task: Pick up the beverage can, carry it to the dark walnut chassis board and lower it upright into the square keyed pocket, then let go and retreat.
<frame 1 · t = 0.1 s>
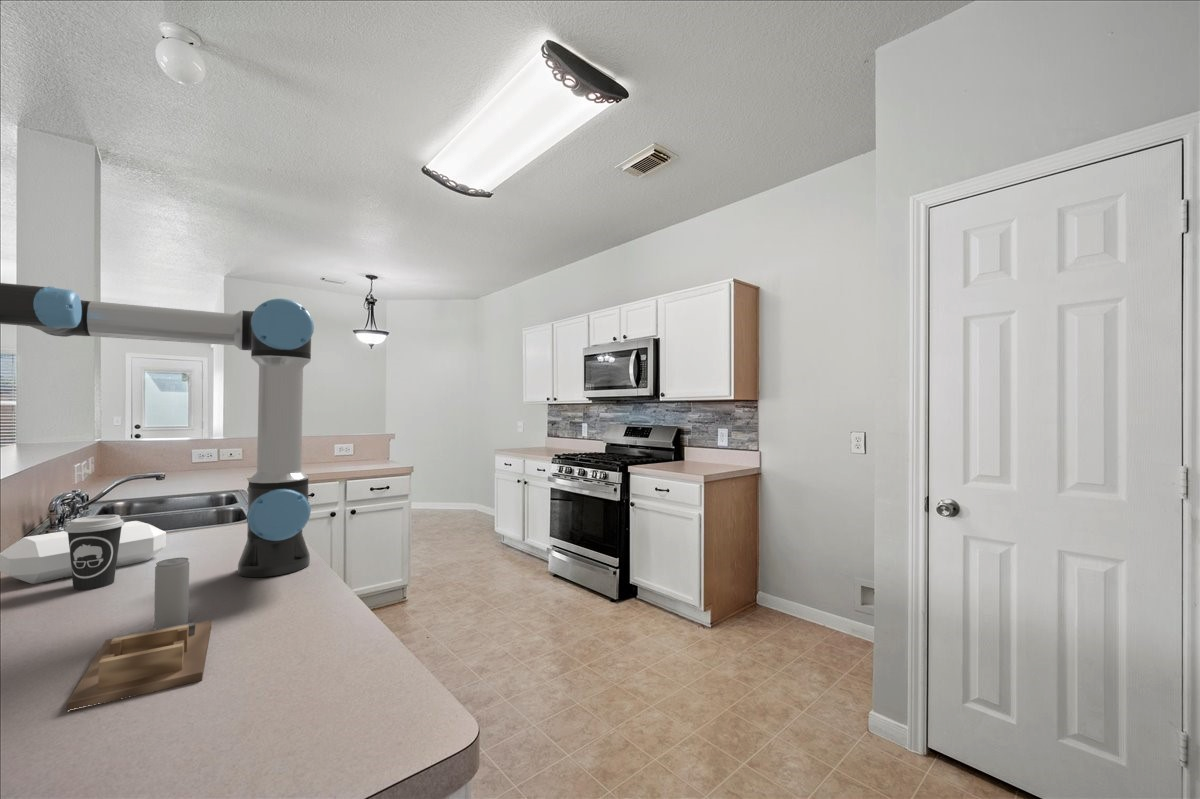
coffee cup: (94, 586, 114), on the worktop
beverage can: (171, 628, 92), on the worktop
crystal: (88, 570, 126), on the worktop
chassis: (150, 662, 80), on the worktop
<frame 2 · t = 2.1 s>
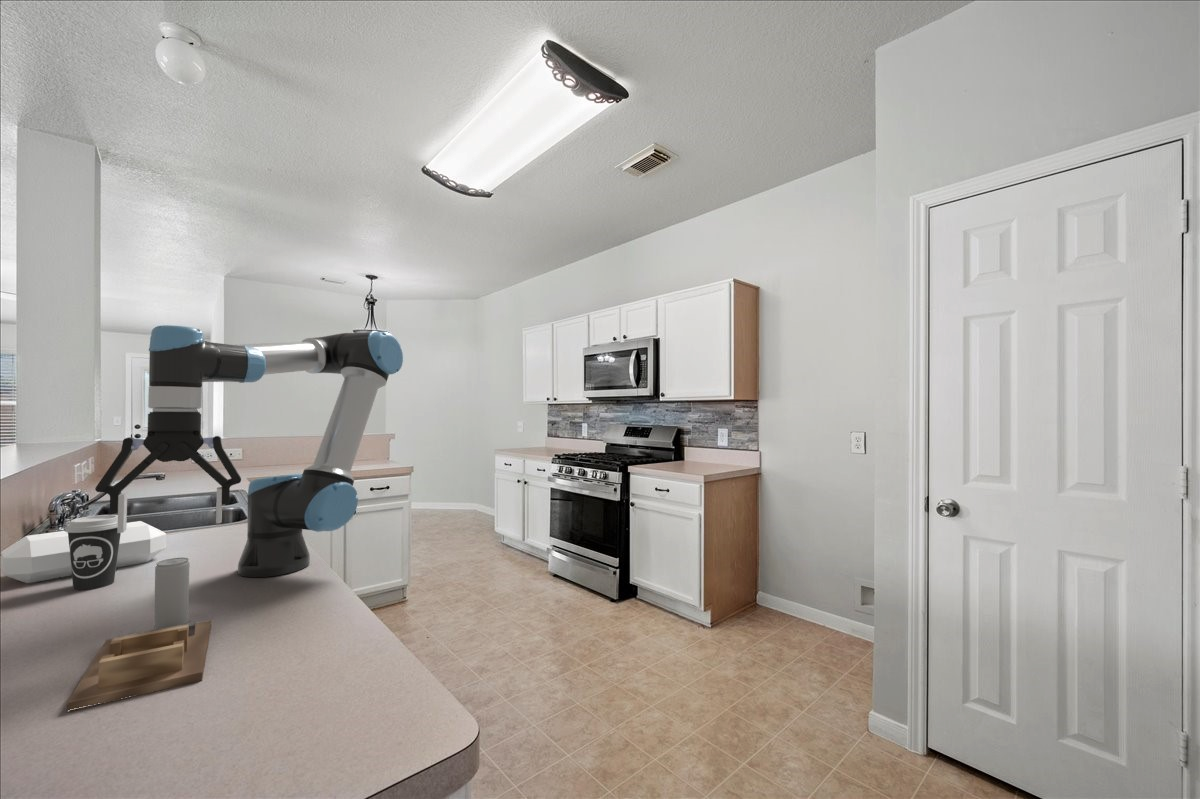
hand: (172, 526, 93), 18 cm above the worktop, fingers open, 13 cm apart
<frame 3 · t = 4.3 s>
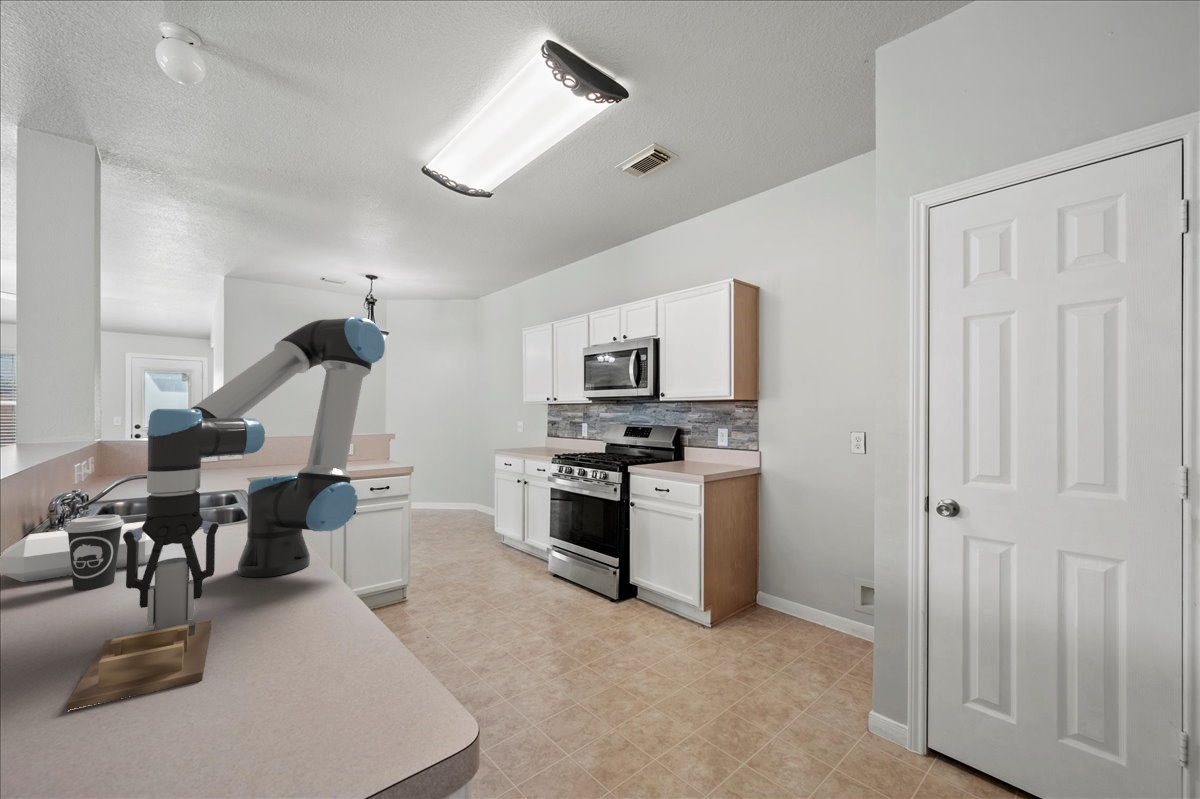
hand: (171, 620, 92), 1 cm above the worktop, fingers closed on beverage can, 5 cm apart
beverage can: (171, 628, 92), on the worktop, touching gripper
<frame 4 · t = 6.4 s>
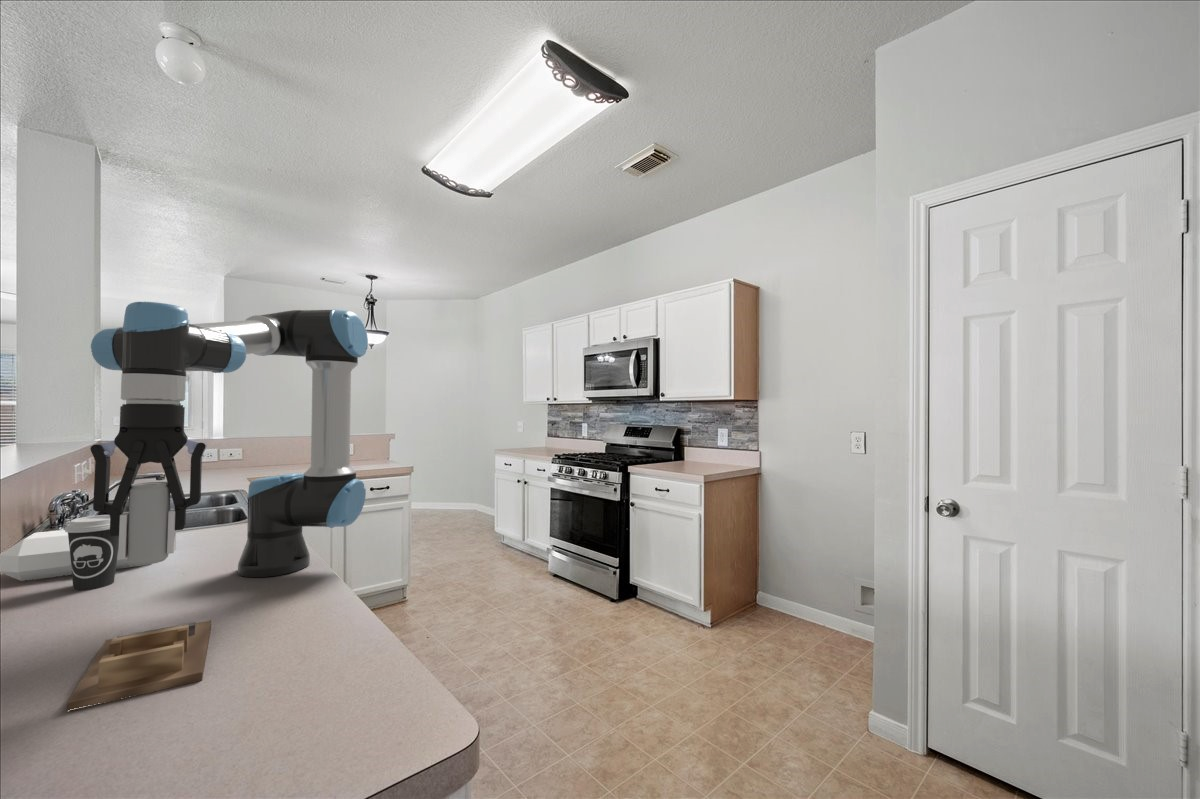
hand: (148, 553, 78), 18 cm above the worktop, fingers closed on beverage can, 5 cm apart
beverage can: (147, 563, 78), point 16 cm above the worktop, touching gripper
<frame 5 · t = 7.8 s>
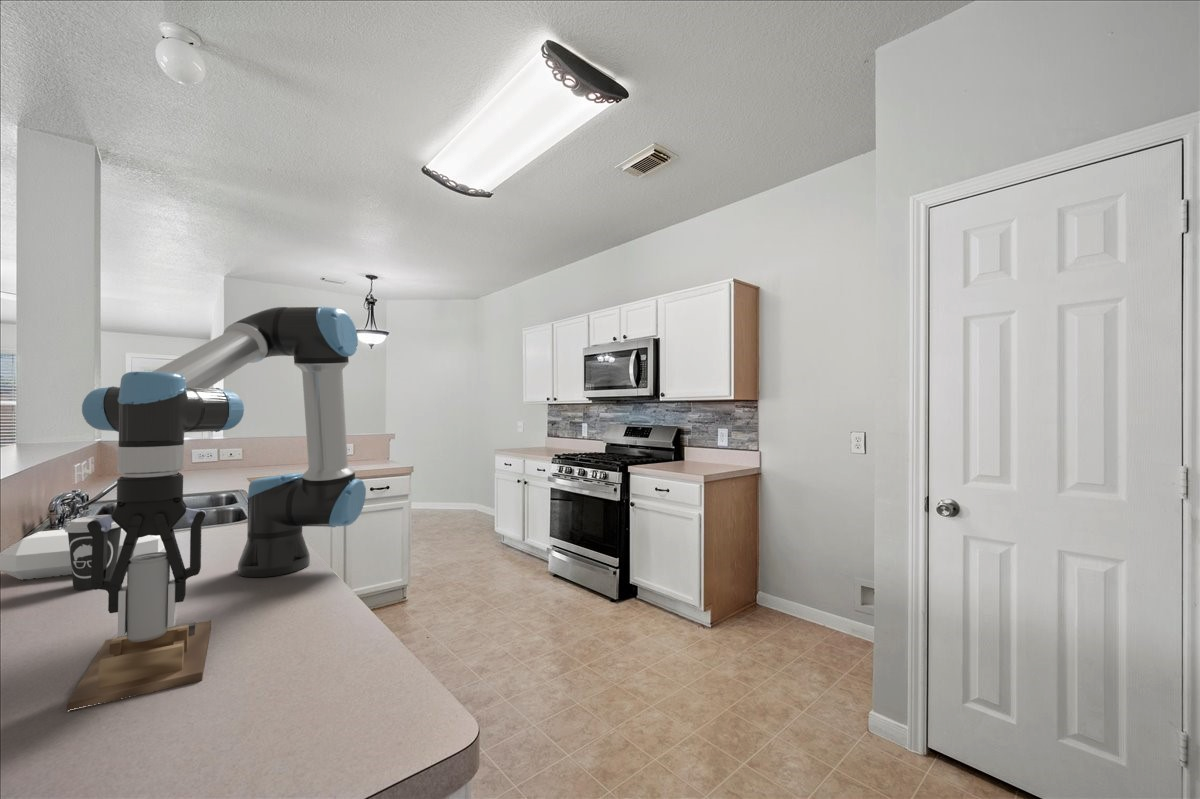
hand: (147, 628, 76), 7 cm above the worktop, fingers closed on beverage can, 5 cm apart
beverage can: (147, 637, 76), point 5 cm above the worktop, touching gripper
when the fingers open (4 cm above the worktop, at t = 8.7 s): beverage can drops 1 cm, resting on chassis.
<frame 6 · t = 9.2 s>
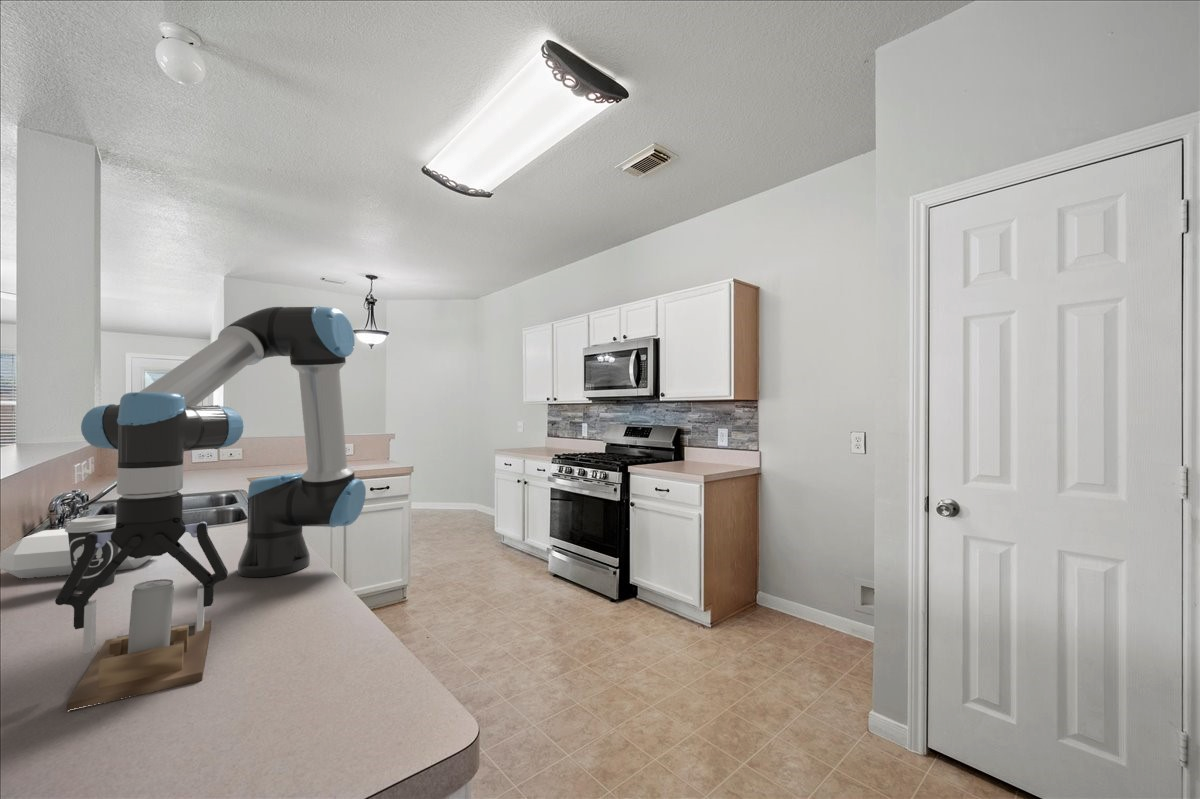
hand: (147, 638, 76), 5 cm above the worktop, fingers open, 12 cm apart
beverage can: (147, 665, 76), point 1 cm above the worktop, touching chassis
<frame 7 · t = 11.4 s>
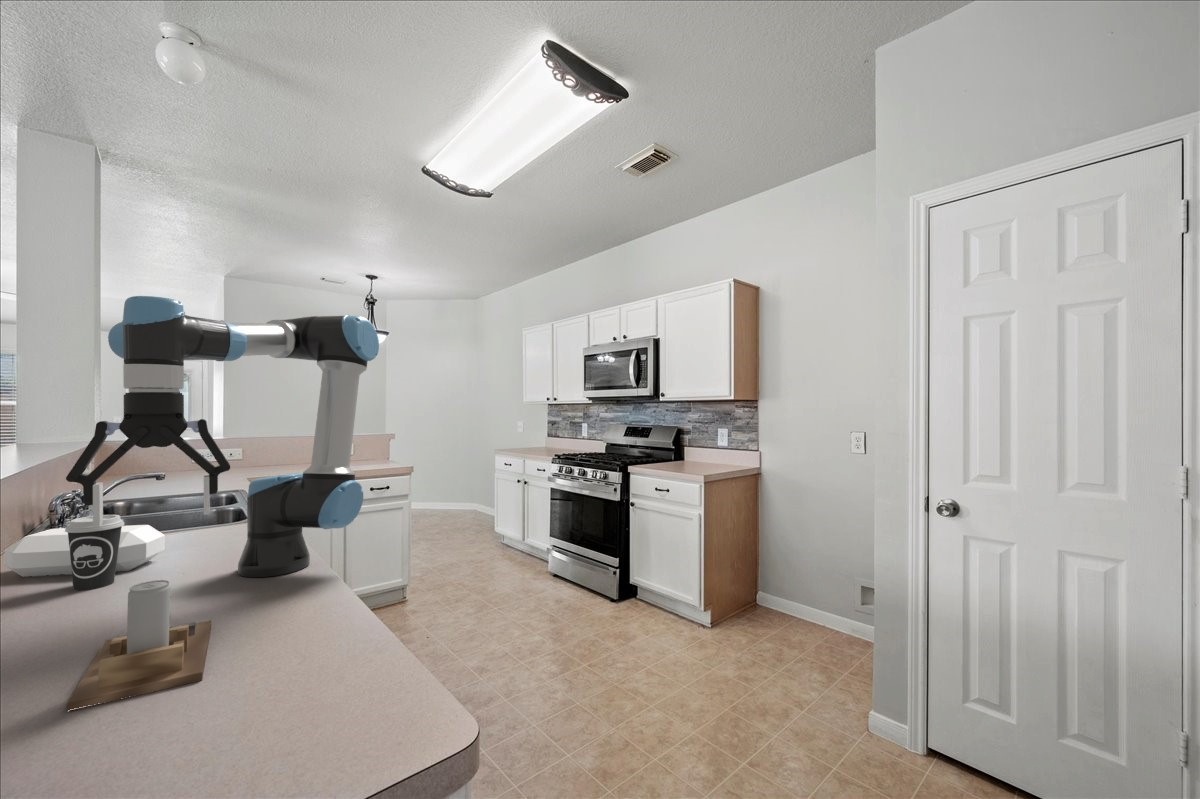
hand: (155, 519, 84), 22 cm above the worktop, fingers open, 13 cm apart
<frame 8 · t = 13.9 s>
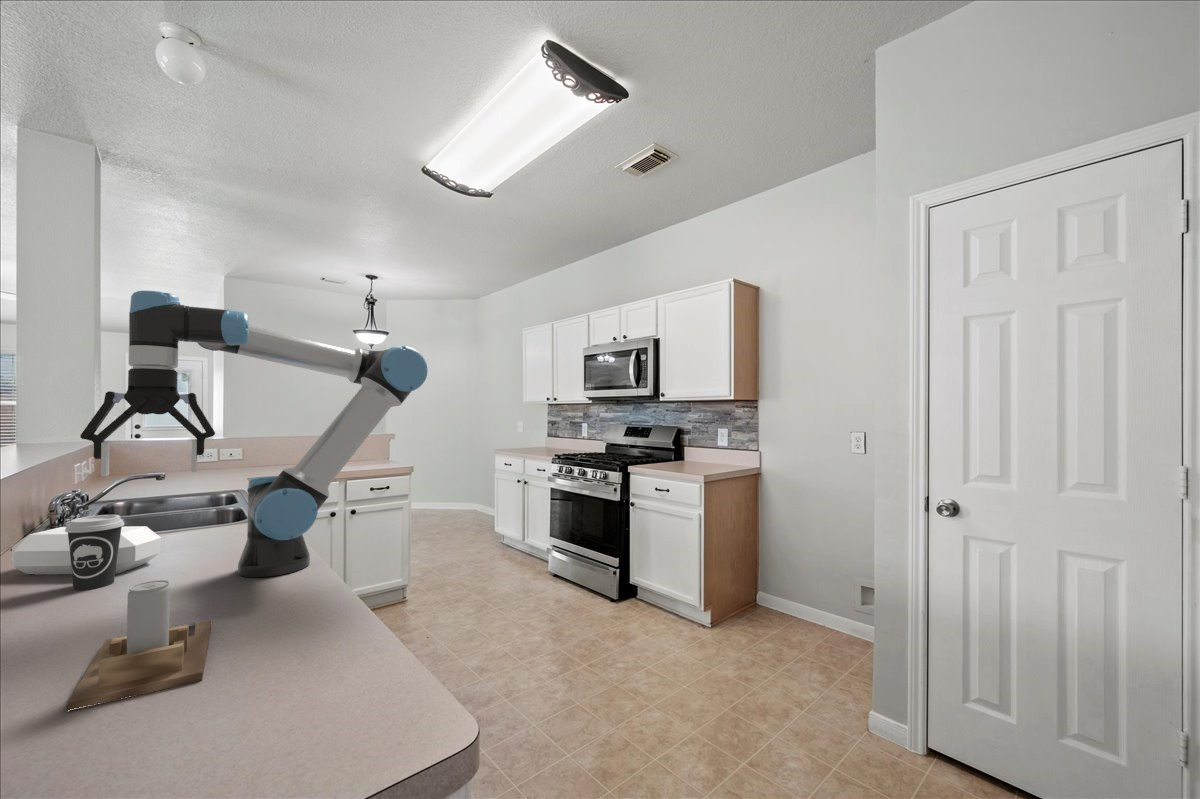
hand: (151, 473, 102), 27 cm above the worktop, fingers open, 13 cm apart
at the end: beverage can 0.1 cm from the target spot on the chassis, point 1.0 cm above the chassis's base; beverage can tilted 0°; the gripper is holding nothing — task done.
